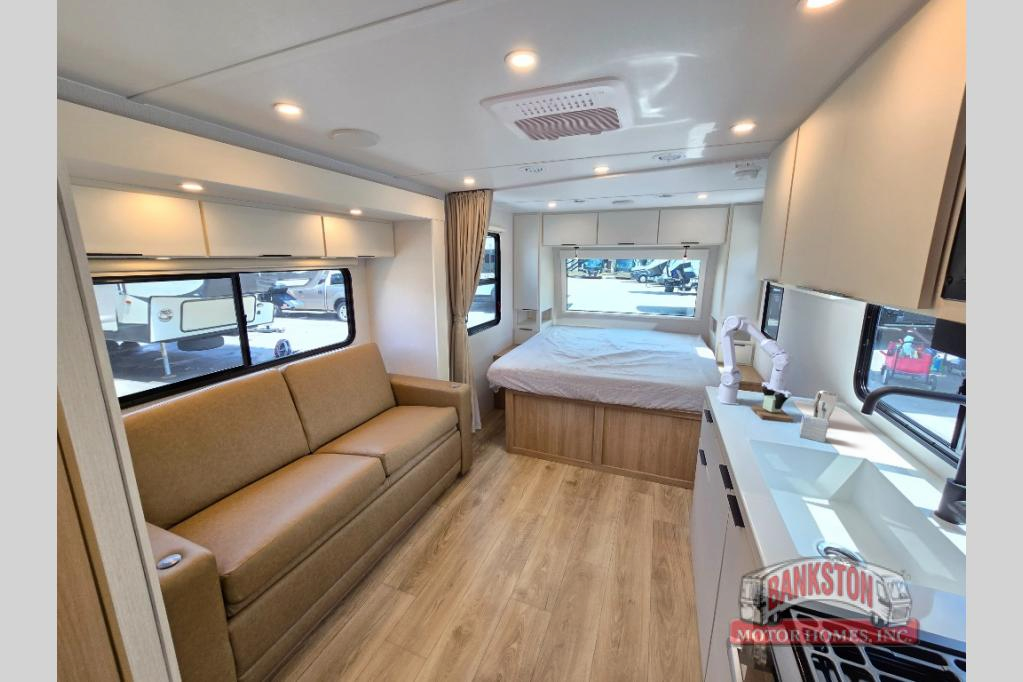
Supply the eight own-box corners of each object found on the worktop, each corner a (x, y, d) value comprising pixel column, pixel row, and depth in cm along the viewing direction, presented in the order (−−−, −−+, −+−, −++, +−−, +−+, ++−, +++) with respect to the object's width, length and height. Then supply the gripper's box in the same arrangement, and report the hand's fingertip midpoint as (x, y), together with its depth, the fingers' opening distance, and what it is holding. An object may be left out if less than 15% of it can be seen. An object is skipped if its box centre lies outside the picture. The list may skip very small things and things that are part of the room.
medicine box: (822, 438, 144) (827, 419, 142) (824, 443, 141) (829, 423, 139) (798, 433, 149) (802, 414, 147) (799, 437, 145) (803, 417, 143)
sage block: (762, 407, 166) (764, 395, 165) (772, 407, 167) (774, 395, 166) (770, 412, 162) (773, 399, 160) (781, 411, 162) (783, 399, 161)
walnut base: (750, 408, 172) (751, 405, 171) (778, 411, 170) (779, 407, 169) (762, 419, 161) (763, 415, 160) (792, 422, 158) (793, 418, 158)
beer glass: (827, 429, 152) (835, 397, 149) (806, 423, 158) (814, 392, 154) (831, 425, 156) (839, 393, 153) (811, 419, 162) (819, 388, 158)
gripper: (758, 373, 167) (752, 400, 171) (783, 384, 153) (777, 413, 157) (772, 373, 168) (766, 399, 171) (798, 383, 154) (792, 412, 157)
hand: (772, 406), depth 164 cm, fingers closed on sage block, 5 cm apart
